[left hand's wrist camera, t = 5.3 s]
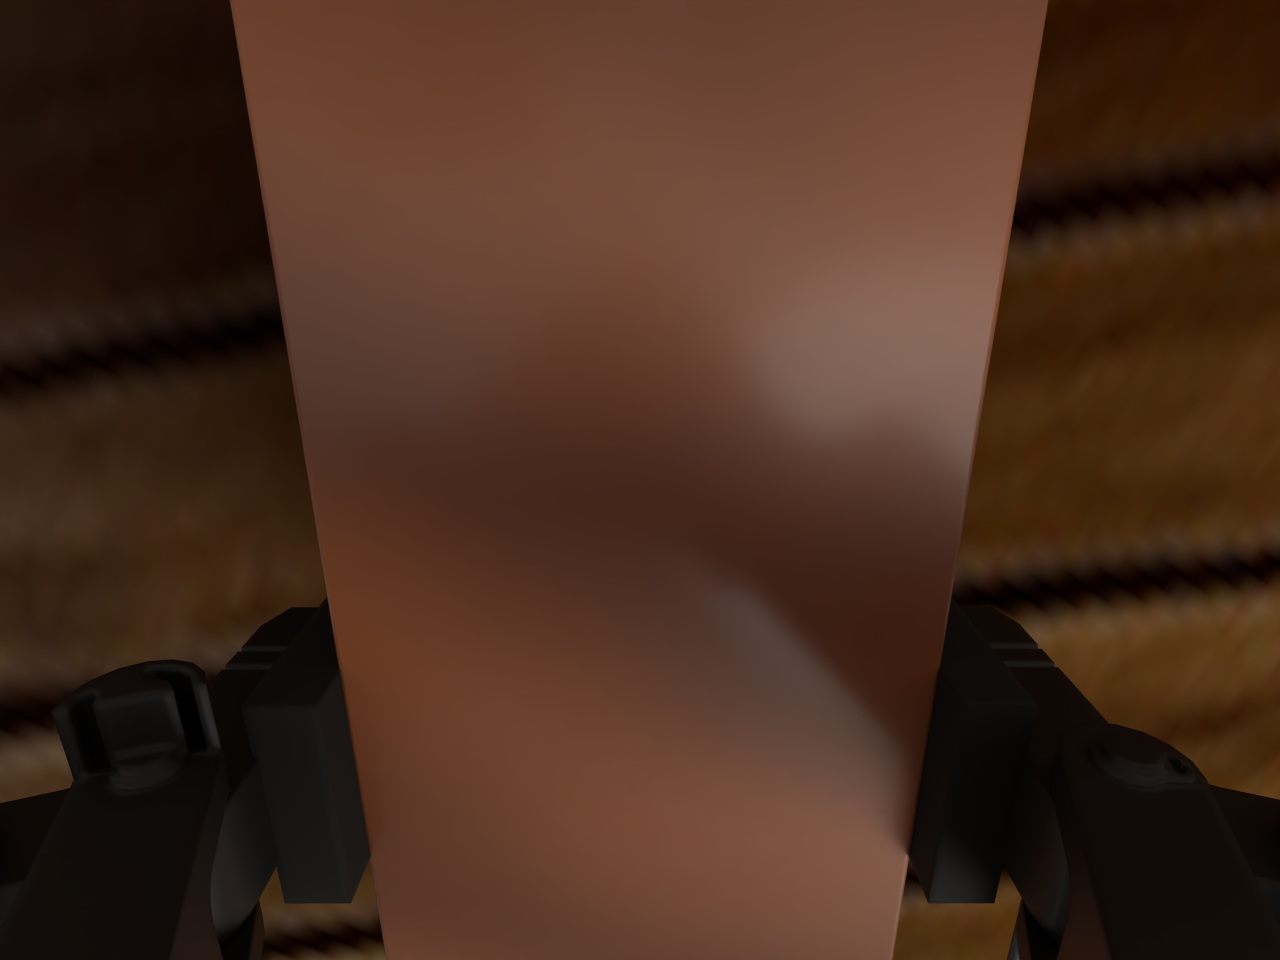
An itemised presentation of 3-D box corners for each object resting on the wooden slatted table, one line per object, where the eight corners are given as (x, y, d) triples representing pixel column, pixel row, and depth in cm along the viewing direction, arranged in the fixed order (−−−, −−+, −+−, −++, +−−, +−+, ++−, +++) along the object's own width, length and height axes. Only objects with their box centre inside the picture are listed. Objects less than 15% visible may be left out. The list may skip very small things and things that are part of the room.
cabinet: (442, -180, 13) (80, -879, 4) (836, -180, 13) (1196, -876, 4) (504, 677, 18) (398, 1048, 10) (774, 677, 18) (879, 1048, 10)
